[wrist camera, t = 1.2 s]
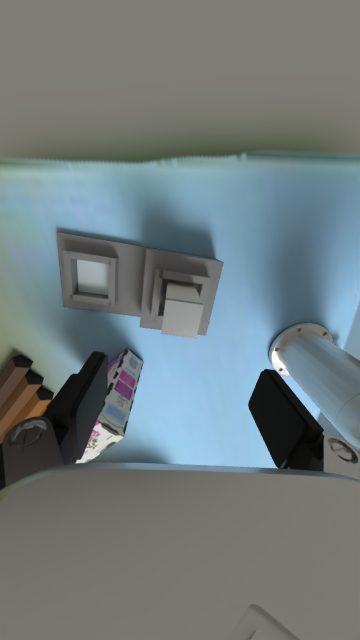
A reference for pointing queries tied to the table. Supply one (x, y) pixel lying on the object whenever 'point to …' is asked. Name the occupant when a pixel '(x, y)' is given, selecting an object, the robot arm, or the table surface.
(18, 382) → the pan flute
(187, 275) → the stepped socket base
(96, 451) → the candy bar box
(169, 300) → the plug
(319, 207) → the table surface
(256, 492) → the robot arm
